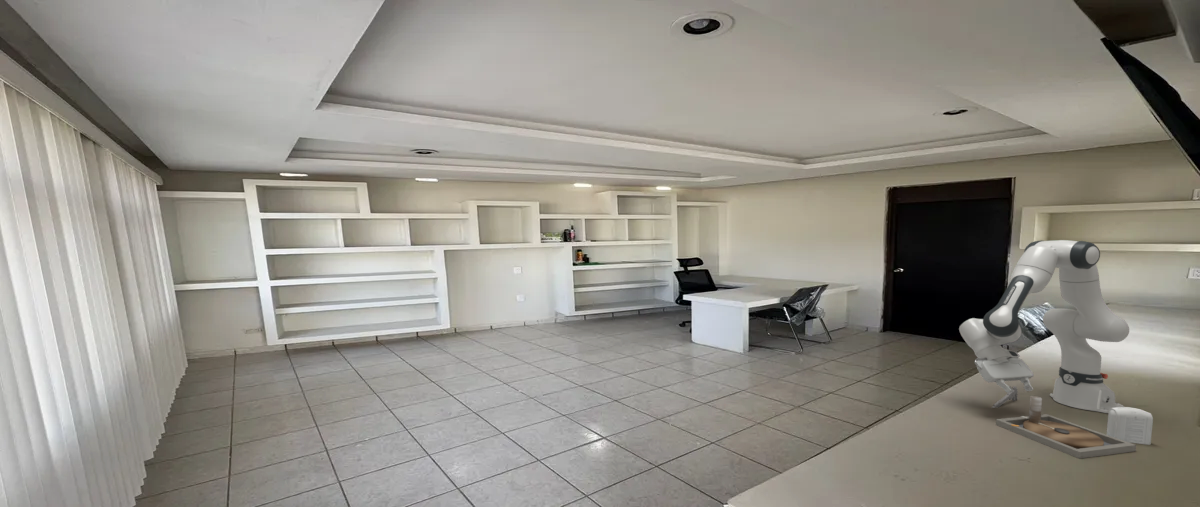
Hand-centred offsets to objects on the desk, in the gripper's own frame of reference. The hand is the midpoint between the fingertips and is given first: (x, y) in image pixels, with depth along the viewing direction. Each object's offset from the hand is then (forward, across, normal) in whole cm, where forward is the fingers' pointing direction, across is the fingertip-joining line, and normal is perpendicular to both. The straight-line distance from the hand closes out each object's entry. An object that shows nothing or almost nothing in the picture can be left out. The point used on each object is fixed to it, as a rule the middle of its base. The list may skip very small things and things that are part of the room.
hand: (1020, 391), depth 163 cm
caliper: (-2, +16, +21) cm, 26 cm away
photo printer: (+22, +20, -4) cm, 30 cm away
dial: (+17, 0, -1) cm, 17 cm away
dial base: (+18, 0, 0) cm, 18 cm away
